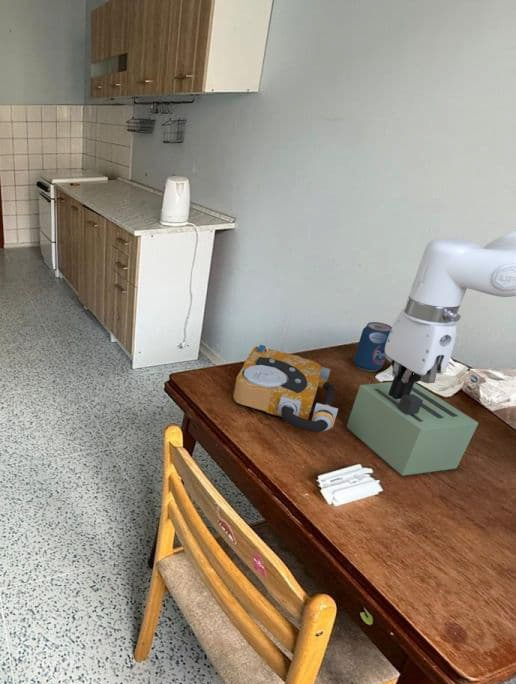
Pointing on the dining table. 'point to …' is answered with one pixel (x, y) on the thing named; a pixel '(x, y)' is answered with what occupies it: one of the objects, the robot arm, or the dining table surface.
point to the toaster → (411, 430)
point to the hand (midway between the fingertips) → (398, 396)
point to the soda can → (372, 346)
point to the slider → (410, 404)
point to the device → (286, 388)
